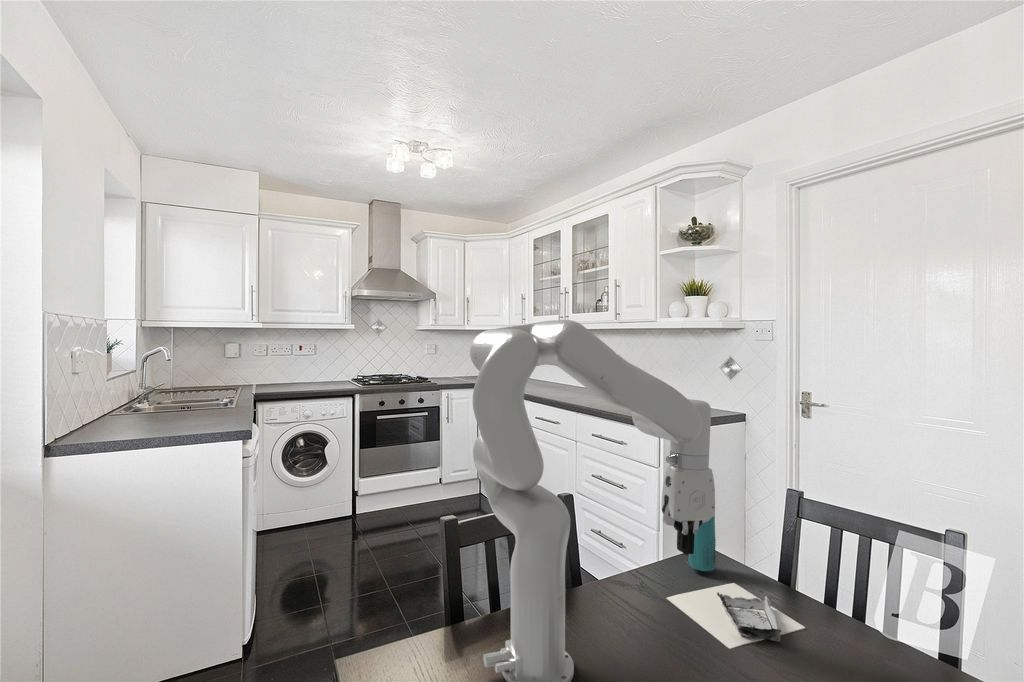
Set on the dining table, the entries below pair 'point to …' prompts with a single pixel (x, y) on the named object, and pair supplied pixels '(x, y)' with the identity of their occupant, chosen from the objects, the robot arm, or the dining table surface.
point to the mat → (724, 613)
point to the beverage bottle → (704, 547)
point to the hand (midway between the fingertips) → (685, 551)
